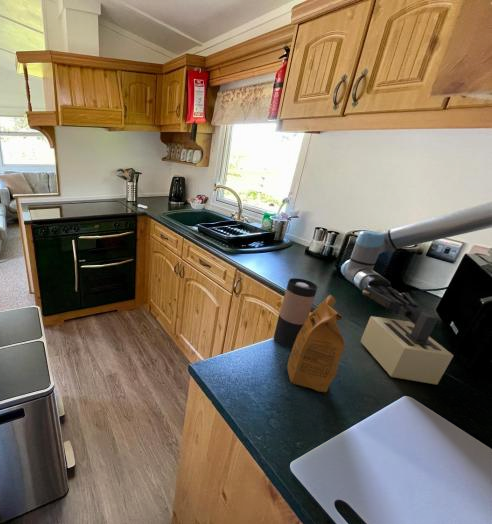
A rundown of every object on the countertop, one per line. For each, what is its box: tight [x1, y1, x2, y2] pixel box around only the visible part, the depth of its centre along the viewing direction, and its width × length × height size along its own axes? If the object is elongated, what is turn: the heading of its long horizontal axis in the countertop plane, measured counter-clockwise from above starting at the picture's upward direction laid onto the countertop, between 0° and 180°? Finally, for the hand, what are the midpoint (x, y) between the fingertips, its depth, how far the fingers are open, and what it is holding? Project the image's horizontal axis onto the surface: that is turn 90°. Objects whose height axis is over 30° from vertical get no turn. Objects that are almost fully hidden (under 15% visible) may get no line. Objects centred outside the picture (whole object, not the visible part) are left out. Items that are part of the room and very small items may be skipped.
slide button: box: [405, 311, 439, 346], centre depth 75 cm, size 4×4×8 cm
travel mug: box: [273, 277, 319, 349], centre depth 86 cm, size 8×8×20 cm
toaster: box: [359, 315, 454, 385], centre depth 82 cm, size 16×11×10 cm
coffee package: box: [286, 294, 346, 393], centre depth 72 cm, size 10×12×22 cm
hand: (421, 320), depth 76 cm, fingers closed
